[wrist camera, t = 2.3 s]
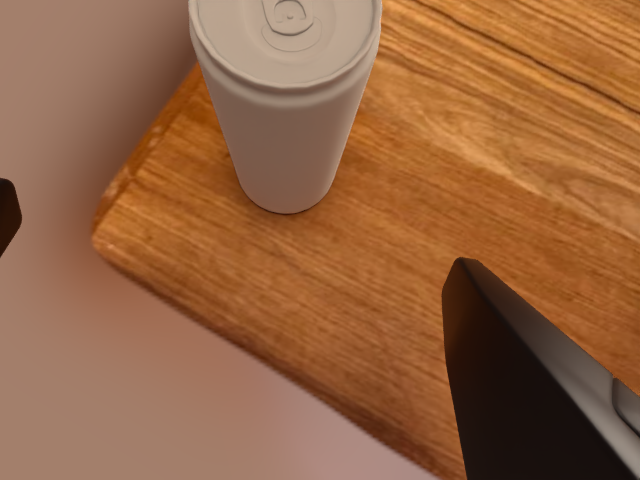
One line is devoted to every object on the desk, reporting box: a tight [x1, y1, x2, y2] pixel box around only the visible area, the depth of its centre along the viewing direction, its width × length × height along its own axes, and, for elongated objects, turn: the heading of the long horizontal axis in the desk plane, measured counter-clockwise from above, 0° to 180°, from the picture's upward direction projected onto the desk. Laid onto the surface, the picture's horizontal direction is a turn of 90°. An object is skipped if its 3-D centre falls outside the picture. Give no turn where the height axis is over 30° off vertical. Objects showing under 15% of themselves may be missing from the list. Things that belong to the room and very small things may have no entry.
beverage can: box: [188, 0, 382, 214], centre depth 16 cm, size 5×5×12 cm
